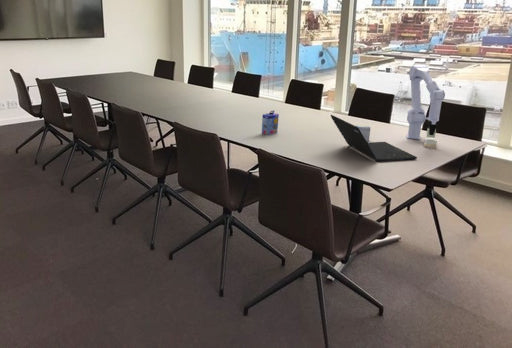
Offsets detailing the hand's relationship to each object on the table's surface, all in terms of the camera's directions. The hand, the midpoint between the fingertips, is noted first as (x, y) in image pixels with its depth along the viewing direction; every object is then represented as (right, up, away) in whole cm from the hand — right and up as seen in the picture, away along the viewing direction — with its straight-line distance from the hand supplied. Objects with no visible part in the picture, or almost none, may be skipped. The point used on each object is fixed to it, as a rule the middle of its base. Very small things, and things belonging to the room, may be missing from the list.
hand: (431, 134), depth 279 cm
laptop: (-39, -12, -16) cm, 44 cm away
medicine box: (-39, -3, +9) cm, 40 cm away
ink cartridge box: (-94, +2, +18) cm, 96 cm away
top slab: (0, -5, +2) cm, 6 cm away
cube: (0, -1, 0) cm, 2 cm away
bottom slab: (0, -7, +2) cm, 8 cm away
